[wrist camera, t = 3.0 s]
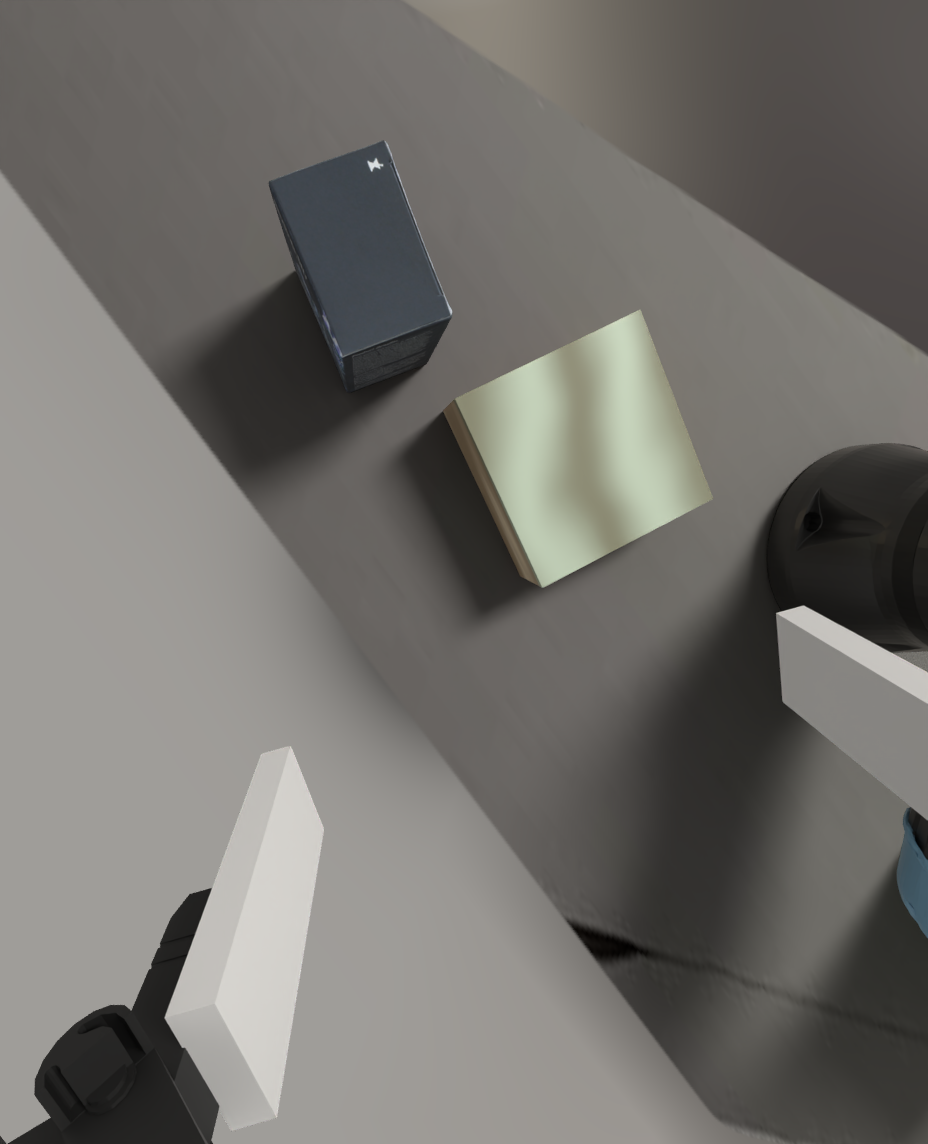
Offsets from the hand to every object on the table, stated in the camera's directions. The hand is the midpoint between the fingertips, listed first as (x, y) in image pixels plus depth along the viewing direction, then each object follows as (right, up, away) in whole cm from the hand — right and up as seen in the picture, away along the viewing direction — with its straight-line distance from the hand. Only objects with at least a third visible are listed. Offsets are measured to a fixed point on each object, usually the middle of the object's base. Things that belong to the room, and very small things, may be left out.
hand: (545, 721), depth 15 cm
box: (-8, +20, +21) cm, 30 cm away
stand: (+4, +12, +24) cm, 27 cm away
